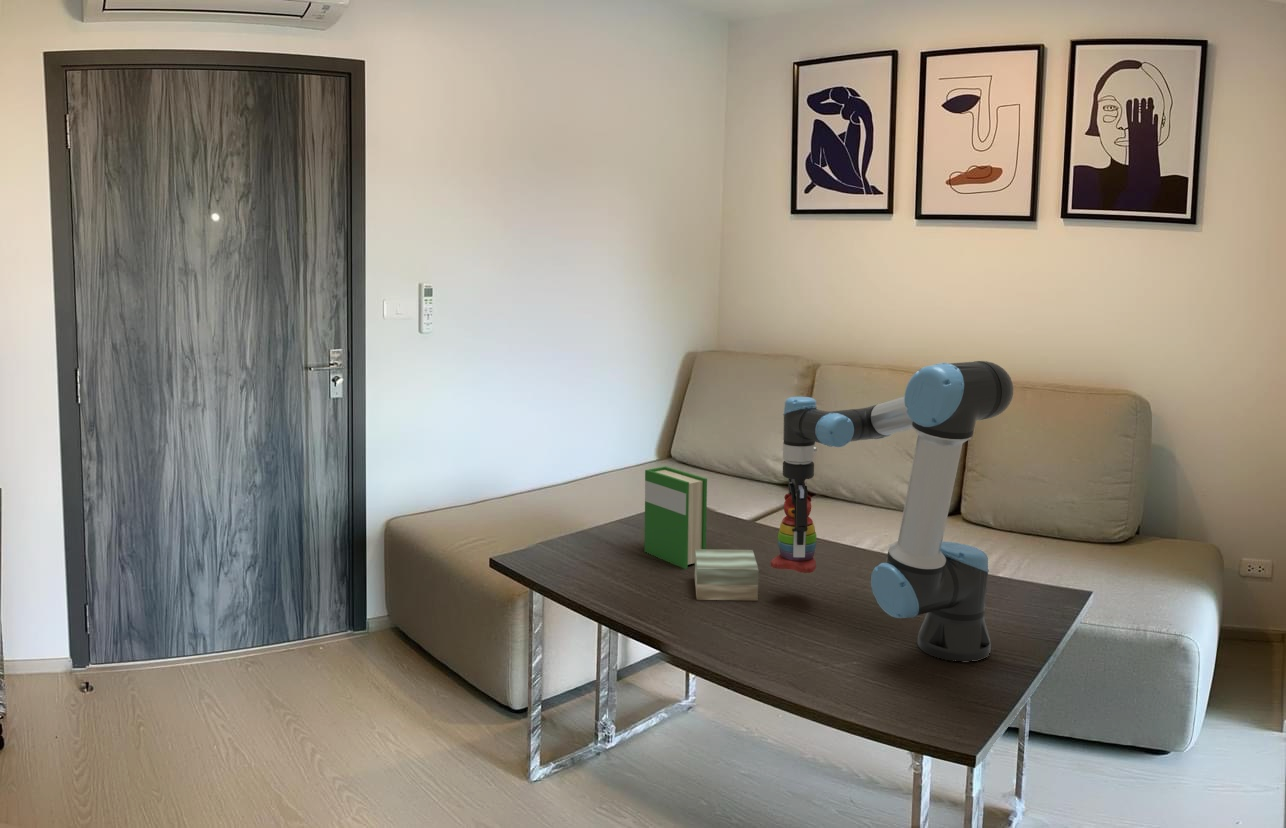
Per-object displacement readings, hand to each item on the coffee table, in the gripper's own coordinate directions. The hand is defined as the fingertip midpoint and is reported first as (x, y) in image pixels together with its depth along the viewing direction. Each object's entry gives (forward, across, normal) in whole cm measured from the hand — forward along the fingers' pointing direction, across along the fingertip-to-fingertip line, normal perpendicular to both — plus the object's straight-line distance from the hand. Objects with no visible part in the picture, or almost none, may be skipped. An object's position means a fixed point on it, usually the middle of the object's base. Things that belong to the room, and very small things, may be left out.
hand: (796, 550), depth 232 cm
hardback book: (+12, +30, +29) cm, 44 cm away
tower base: (+12, +6, +17) cm, 22 cm away
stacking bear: (+4, 0, 0) cm, 4 cm away
